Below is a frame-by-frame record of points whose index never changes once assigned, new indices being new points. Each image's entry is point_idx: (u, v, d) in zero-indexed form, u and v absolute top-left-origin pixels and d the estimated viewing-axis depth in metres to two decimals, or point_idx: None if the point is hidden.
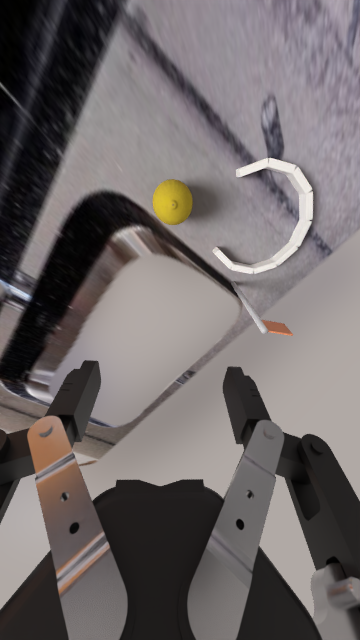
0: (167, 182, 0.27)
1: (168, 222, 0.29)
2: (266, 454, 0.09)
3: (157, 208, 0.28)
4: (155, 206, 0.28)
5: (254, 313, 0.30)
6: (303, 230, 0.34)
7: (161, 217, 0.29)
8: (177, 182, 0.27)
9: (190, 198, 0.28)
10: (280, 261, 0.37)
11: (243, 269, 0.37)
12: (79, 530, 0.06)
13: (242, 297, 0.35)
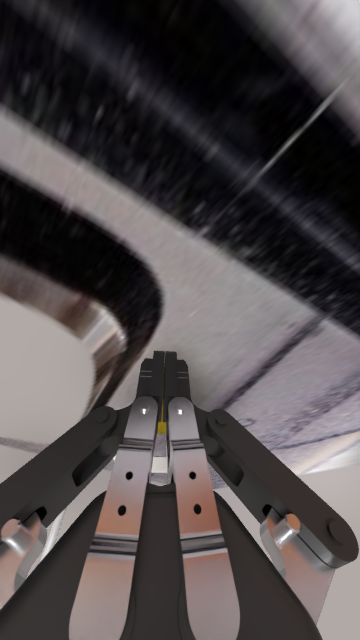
0: None
1: None
2: (187, 428, 0.09)
3: None
4: None
5: (52, 544, 0.22)
6: (160, 470, 0.36)
7: None
8: None
9: None
10: None
11: None
12: (123, 516, 0.06)
13: None
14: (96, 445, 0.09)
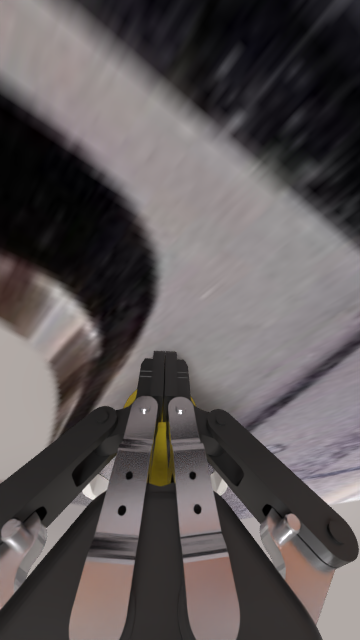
0: None
1: None
2: (187, 428, 0.09)
3: None
4: None
5: None
6: None
7: None
8: None
9: None
10: None
11: (85, 487, 0.23)
12: (123, 516, 0.06)
13: None
14: (96, 445, 0.09)
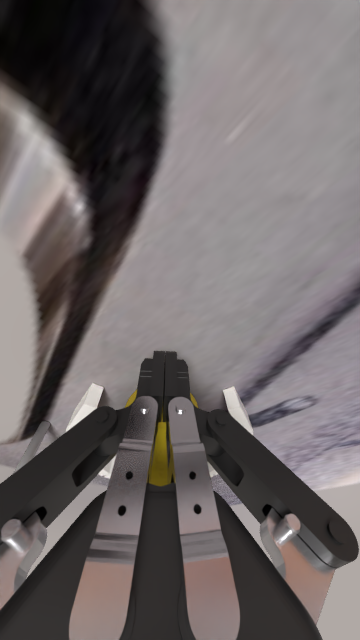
0: None
1: None
2: (187, 428, 0.09)
3: None
4: None
5: None
6: None
7: None
8: None
9: None
10: None
11: None
12: (123, 516, 0.06)
13: None
14: (96, 445, 0.09)
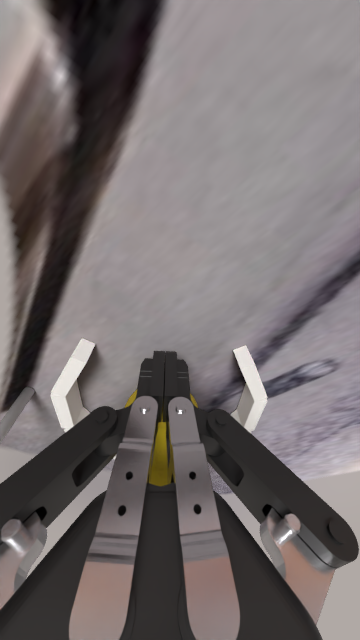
0: None
1: None
2: (187, 428, 0.09)
3: None
4: None
5: None
6: None
7: None
8: None
9: None
10: None
11: (63, 413, 0.16)
12: (124, 516, 0.06)
13: None
14: (96, 445, 0.09)
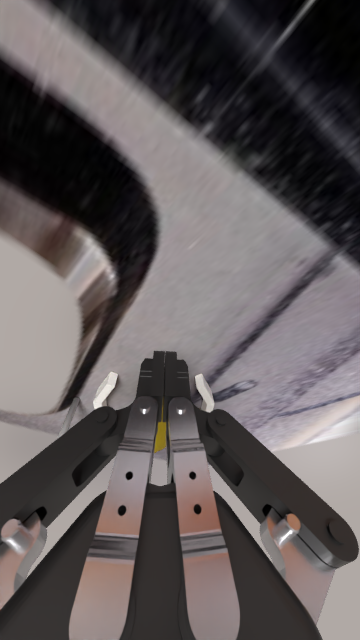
0: None
1: None
2: (187, 428, 0.09)
3: None
4: None
5: None
6: None
7: None
8: None
9: None
10: None
11: None
12: (123, 516, 0.06)
13: None
14: (96, 445, 0.09)
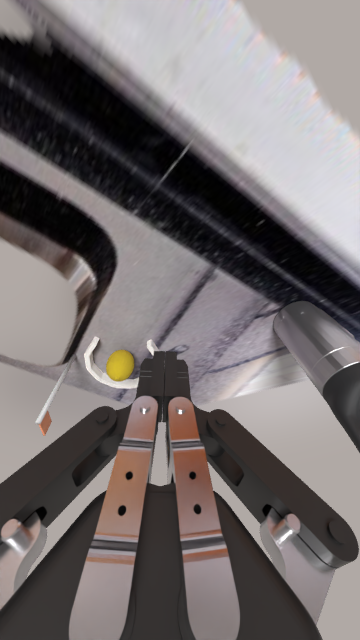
0: (129, 367, 0.43)
1: (106, 371, 0.43)
2: (187, 428, 0.09)
3: (112, 366, 0.41)
4: (113, 364, 0.42)
5: (50, 401, 0.37)
6: (126, 386, 0.51)
7: (108, 368, 0.42)
8: (131, 371, 0.43)
9: None
10: (102, 381, 0.50)
11: (87, 362, 0.46)
12: (124, 516, 0.06)
13: (62, 377, 0.42)
14: (96, 445, 0.09)
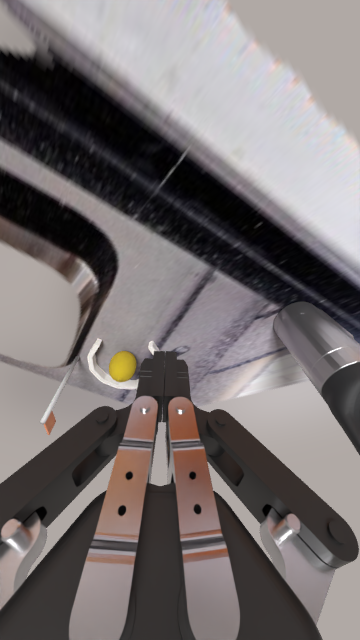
0: (132, 367, 0.44)
1: (109, 372, 0.43)
2: (187, 428, 0.09)
3: (115, 367, 0.42)
4: (116, 365, 0.42)
5: (54, 401, 0.38)
6: (128, 387, 0.52)
7: (111, 369, 0.43)
8: (133, 372, 0.44)
9: None
10: (105, 382, 0.51)
11: (90, 363, 0.47)
12: (123, 516, 0.06)
13: (66, 378, 0.43)
14: (96, 445, 0.09)
